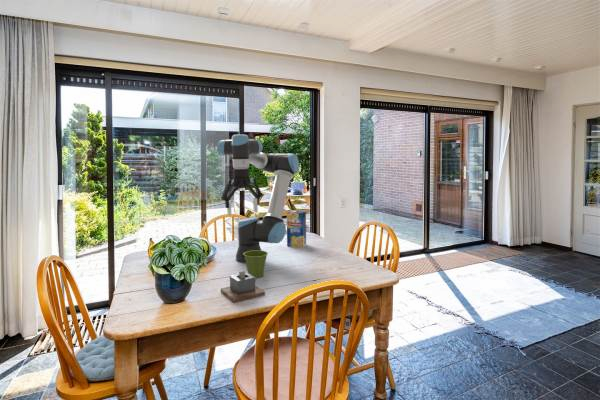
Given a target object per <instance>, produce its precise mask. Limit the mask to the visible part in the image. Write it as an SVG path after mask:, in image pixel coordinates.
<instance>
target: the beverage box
mask: <svg viewBox="0 0 600 400" xmlns="http://www.w3.org/2000/svg"><path fill="white" fill-rule="evenodd" d="M286 246H287V247H293V248H294V247H295V248H305V246H307V211H306V210H304V211H303V210H302V211H301V210H288V211H287V212H286Z"/></svg>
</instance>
